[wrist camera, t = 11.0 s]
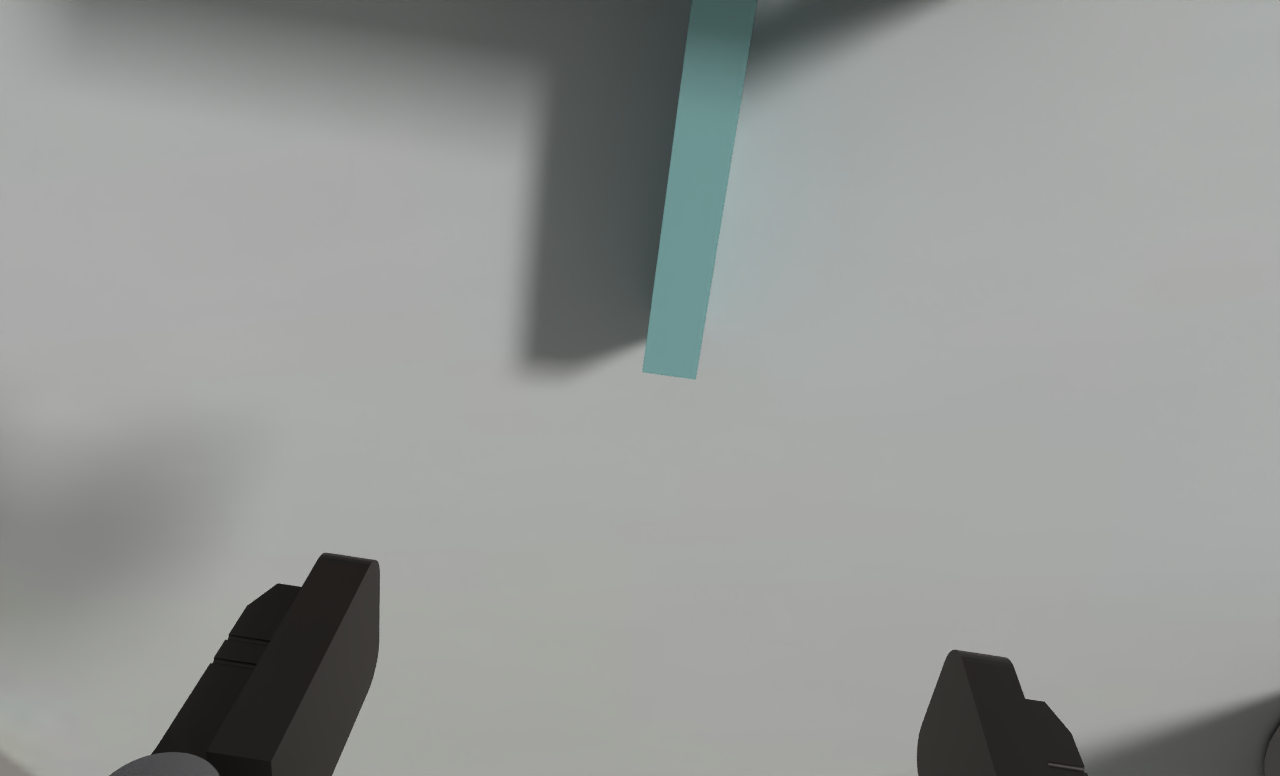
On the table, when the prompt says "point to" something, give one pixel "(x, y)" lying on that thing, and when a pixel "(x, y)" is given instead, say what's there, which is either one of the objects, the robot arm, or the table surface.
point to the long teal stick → (697, 182)
